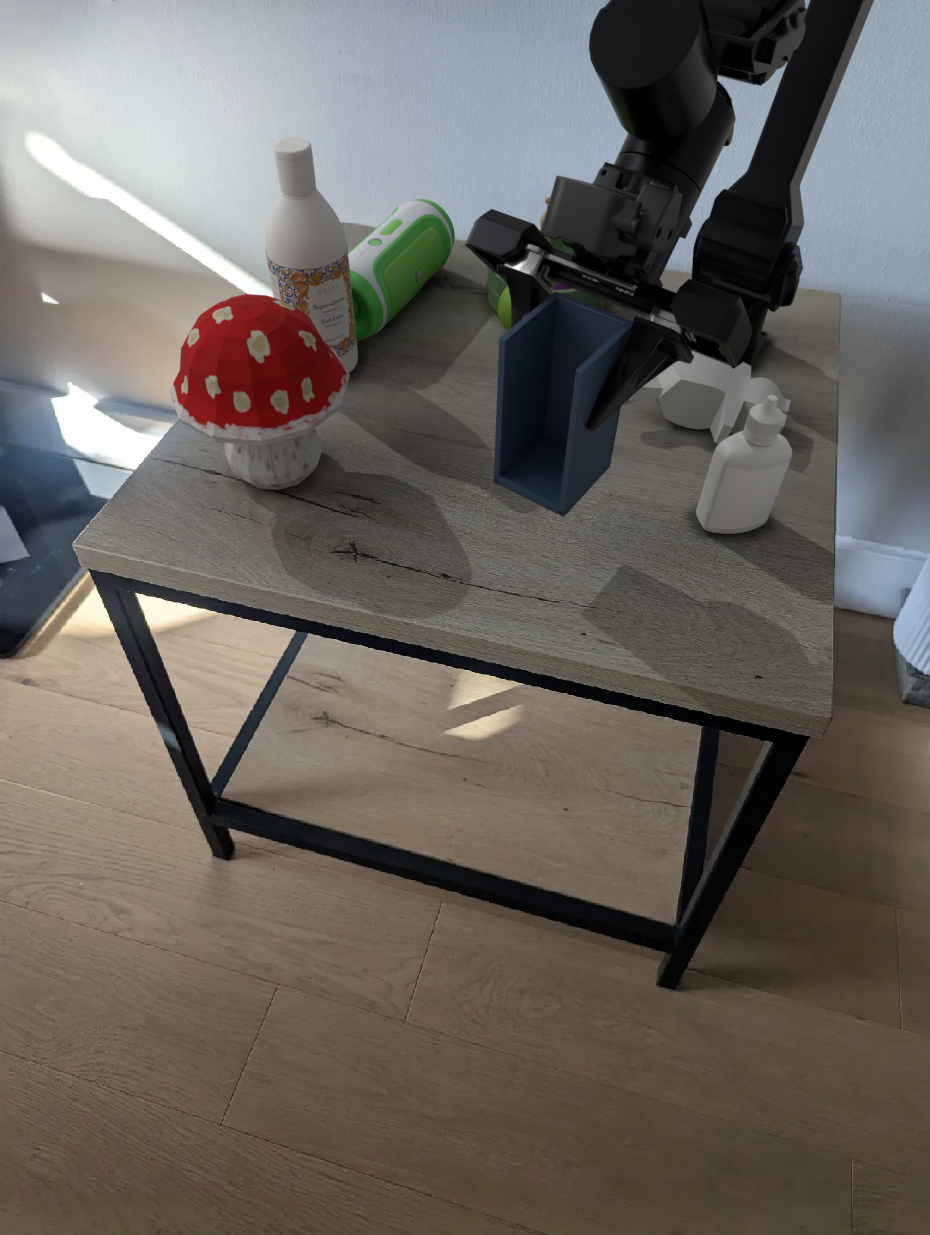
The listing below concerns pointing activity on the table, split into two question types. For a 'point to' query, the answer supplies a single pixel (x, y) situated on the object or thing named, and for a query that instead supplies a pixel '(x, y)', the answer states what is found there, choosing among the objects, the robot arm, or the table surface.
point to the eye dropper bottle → (746, 473)
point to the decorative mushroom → (259, 387)
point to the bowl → (498, 286)
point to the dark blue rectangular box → (555, 401)
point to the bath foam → (310, 251)
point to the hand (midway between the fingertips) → (548, 410)
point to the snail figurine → (505, 299)
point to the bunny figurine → (710, 395)
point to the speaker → (397, 262)
